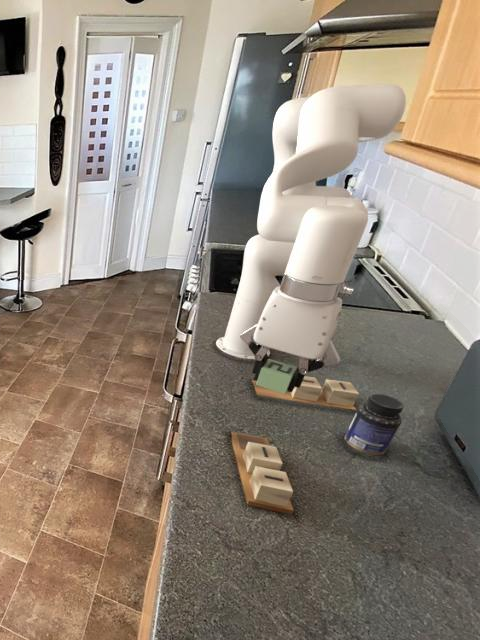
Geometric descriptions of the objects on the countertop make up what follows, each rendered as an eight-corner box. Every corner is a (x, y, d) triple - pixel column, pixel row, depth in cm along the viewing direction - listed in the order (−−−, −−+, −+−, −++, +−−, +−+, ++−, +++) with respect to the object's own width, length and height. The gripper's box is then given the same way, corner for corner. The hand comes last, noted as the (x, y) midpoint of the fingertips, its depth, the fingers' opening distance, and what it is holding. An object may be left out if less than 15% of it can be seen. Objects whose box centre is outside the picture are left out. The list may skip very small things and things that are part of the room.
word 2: (250, 383, 103) (256, 367, 101) (343, 397, 97) (351, 379, 95) (256, 398, 98) (262, 381, 96) (355, 413, 92) (364, 396, 90)
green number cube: (255, 384, 77) (261, 367, 75) (263, 374, 80) (269, 358, 78) (285, 394, 74) (291, 377, 73) (291, 384, 77) (298, 366, 75)
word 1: (229, 435, 87) (235, 417, 85) (266, 441, 85) (273, 423, 83) (247, 504, 72) (255, 485, 70) (292, 514, 70) (301, 494, 68)
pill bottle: (391, 460, 80) (418, 413, 75) (353, 456, 81) (377, 409, 76) (371, 438, 85) (395, 392, 80) (335, 435, 86) (357, 389, 81)
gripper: (382, 293, 65) (337, 392, 74) (256, 270, 76) (229, 358, 85) (375, 309, 61) (328, 412, 69) (242, 281, 71) (216, 374, 80)
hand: (274, 382), depth 77 cm, fingers closed on green number cube, 4 cm apart
